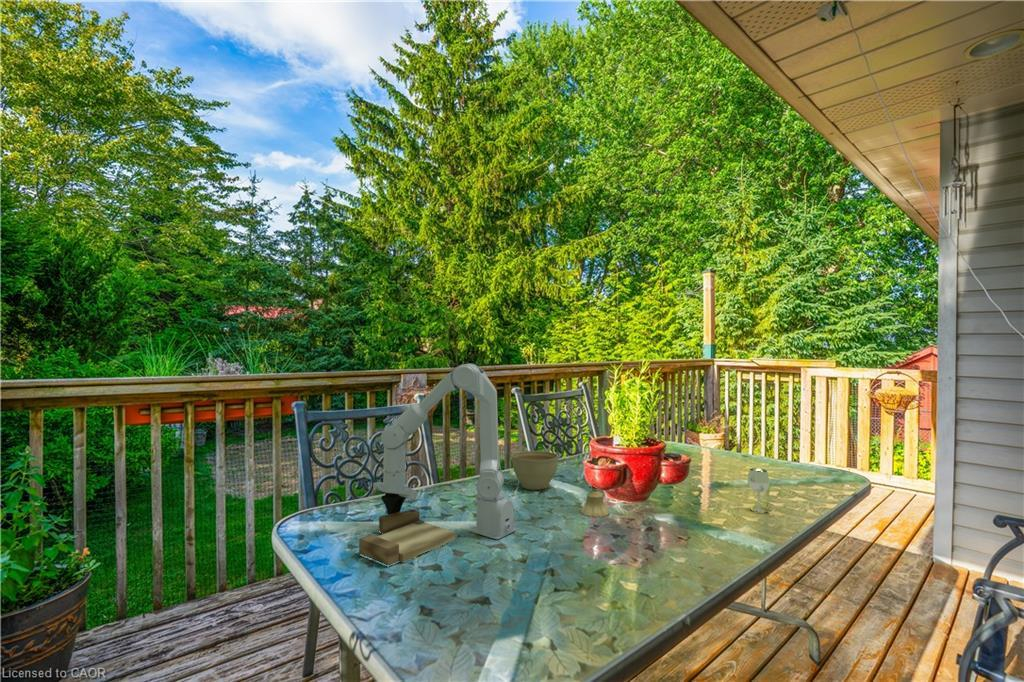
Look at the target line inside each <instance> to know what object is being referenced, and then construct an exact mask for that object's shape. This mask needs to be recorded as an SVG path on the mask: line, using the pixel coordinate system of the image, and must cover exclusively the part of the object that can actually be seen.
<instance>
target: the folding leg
mask: <svg viewBox="0 0 1024 682" xmlns="http://www.w3.org/2000/svg"><path fill="white" fill-rule="evenodd" d="M417 520H421V519H420V511H419V510H418V509H415V508H411V509H408V510H407V509H406V510H402V511H400V512H397V513H393V514H388V513H387V514H384V515H380V516H378V532H379V531H380V532H381V533H383V534H385V533H388V532H390V531H393V530H396V529H399V528H401V527H404V526H407V525H409V524H412V523H414V521H417ZM381 533H380V534H381Z"/></svg>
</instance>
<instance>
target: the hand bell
mask: <svg viewBox="0 0 1024 682" xmlns="http://www.w3.org/2000/svg"><path fill="white" fill-rule="evenodd" d="M591 464H594V465H599V462H598V459H597V457H592V458H591V462H590V465H591ZM585 501H586V502H585V504H584V505H583V507H582V508H581V509H580V514H581V515H584V516H586V515H587V516H586V517H589V516H593V517H592V518H601V517H600V516H605V515H607V514H609V515H610V511H609V509H608V508H607V507H606V505H605V501H604V496H603V493H602V492H600V491H599V487H598V488H595V487H593V486H592V485H591V491H590V492H588V493H587V495H586V500H585ZM607 516H608V515H607ZM605 517H606V516H605Z"/></svg>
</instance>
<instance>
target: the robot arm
mask: <svg viewBox="0 0 1024 682" xmlns="http://www.w3.org/2000/svg"><path fill="white" fill-rule="evenodd" d="M458 389H461V390H463V391H466V392H468V393H470V394H471V395H472V396H473V397H474V398H476V399H477V400H478V409H479V410H478V412H479V413H478V415H479V417H478V418H479V444H480V445H479V447H480V465H479V477H478V480H477V482H476V485H475V487H476V492H477V493H476V526H473V527H471V528H470V529H469V532H471V533H473V534H477V535H480V536H483V537H484V536H485V537H487V538H491V539H494V540H500V539H502V538H504V537H505V536H508V535H509V534H512V533H513V532H516V531H517V530H516V528H515V506H514V504H513V502H512V501H511V500H509V499H507V498H506V497H505V492H504V491H503V490H502V487H503V485H504V483H505V482H504V481H505V476H504V473H503V471H502V469H501V460H500V453H499V451H500V449H499V420H498V419H499V418H498V417H499V415H498V392H497V389H496V387H495V386H494V384H493V383H492V381H491V380H490V379H489V377H488V376H487V374H486V372H485V370H484V369H482V368H481V367H479V366H478V365H477V364H474V363H465V364H463V363H462V364H460V365H458V366H457V367H455V369H454V370H452V371H451V372H449V373H448V374H447V375H445V376H444V377H443V378H442V379H441V380H440V381H439V382H438V383H437V384H436V386H434V387H433V388H432V390H431V391H429V393H428V394H427V395H426V396H425V397H424V398H423V399H422V400H421V401H420V402H419V403H411V404H410V405H406V406H405V407H404V408H403V410H404V411H403V412H402V413H401V414H400V415H399V416H398V417H397V418H394V419H393V420H392V421H391V423H392V425H388V426H386V427H385V428H384V429H383V431H382V432H381V435H380V441H381V443H382V445H383V465H382V466H383V470H382V471H383V480H382V481H383V482H382V481H377V482H373V483H372V487H373V488H372V490H373V491H374V492H377V491H379V492H382V493H385V494H384V495H382V496H381V498H380V500H382V503H383V504H384V506H385V509H386V512H387V515H388V514H393V513H397V512H401V510H402V507H403V504H404V502H405V501H406V499H408V500H410V501H412V500H415V499H417V490H415V489H413V488H411V487H409V486H408V484H407V483H406V471H407V470H406V463H407V462H406V461H407V460H406V456H407V453H406V452H407V451H406V443H407V442H408V440H409V438H410V436H411V435H412V434H414V433H415V432H416V431H417V430H418V429H419V428H420V427H421V426H422V425H423V424H424V423H425V422H426V421H427V420H428V416H429V415H428V414H429V413H428V412H429V411H430V410H431V409H432V408H433V407H435V406H436V404H439V402H440V401H441V400H442V399H443V398H444V397H445V396H446V395H447V394H449V393H450V392H453V391H457V390H458Z"/></svg>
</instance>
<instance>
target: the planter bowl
mask: <svg viewBox="0 0 1024 682" xmlns="http://www.w3.org/2000/svg"><path fill="white" fill-rule="evenodd" d="M511 460H512V461H511V462H512V468H513V471H514V474H515V476H516V478H517V480H518V481H519V482H520V487H521V488H523V489H525V490H526V489H527V490H545V489H548V488H549V487H550V482H551V481H552V480H553V478H554V477H555V475H556V472H557V468H558V461H559V455H558V454H557V453H555V452H552V451H545V450H544V451H543V450H542V451H541V450H524V451H523V450H522V451H517V452H514V453H513V454H511Z"/></svg>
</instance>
